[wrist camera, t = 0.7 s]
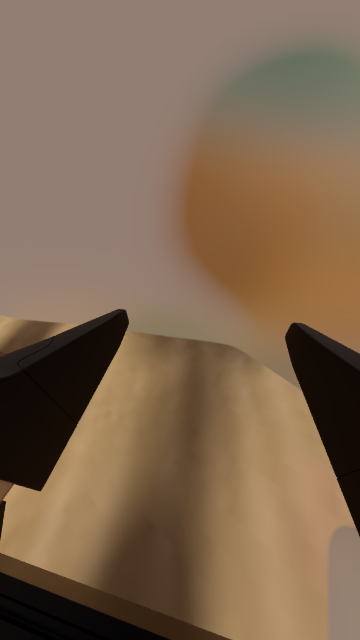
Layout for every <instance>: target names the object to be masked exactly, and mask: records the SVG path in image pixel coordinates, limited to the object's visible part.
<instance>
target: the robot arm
mask: <svg viewBox="0 0 360 640" xmlns="http://www.w3.org/2000/svg"><path fill="white" fill-rule="evenodd" d="M128 325H129V320H128V316H127V313H126V310H124V309H117V310H115V311H112V312H110V313H108V314H105V315H103V316H100V317H98V318H96V319H93V320H91V321H89V322H86V323H84V324H81V325H79V326H77V327H74V328H72V329H69V330H67V331H65V332H62V333H60V334H57V335H56V336H53V337H50V338H48V339H45V340H43V341H40V342H38V343H35V344H33V345H30V346H28V347H25V348H22V349H20V350H17V351H15V352H12V353H9V354H6V355H4V356H1V357H0V539H1V532H2V525H3V518H4V511H5V504H6V501H3V499H4V498H5V496H6V495H7V493H8V492H9V491H10V489H11V488H12V486H13V485H14V484H16V485H19V486H23V487H26V488H30V489H33V490H37V491H41V490H42V488H43V487H44V485H45V483H46V482H47V480H48V478H49V476H50V474H51V472H52V471H53V469H54V467H55V465H56V463H57V461H58V459H59V458H60V456H61V454H62V452H63V450H64V448H65V447H66V445H67V443H68V441H69V439H70V437H71V436H72V434H73V432H74V430H75V428H76V426H77V424H78V422H79V421H80V419H81V417H82V415H83V413H84V411H85V409H86V408H87V406H88V404H89V402H90V400H91V398H92V397H93V395H94V393H95V391H96V389H97V387H98V385H99V384H100V382H101V380H102V378H103V376H104V374H105V373H106V371H107V369H108V367H109V365H110V363H111V361H112V360H113V358H114V356H115V354H116V352H117V350H118V349H119V347H120V344H121V342H122V340H123V337H124V335H125V332H126V330H127V327H128ZM285 340H286V344H287V348H288V352H289V356H290V359H291V363H292V366H293V369H294V372H295V374H296V377H297V379H298V381H299V384H300V387H301V389H302V392H303V394H304V397H305V399H306V402H307V404H308V407H309V409H310V412H311V415H312V417H313V420H314V422H315V425H316V427H317V430H318V432H319V435H320V437H321V440H322V442H323V445H324V447H325V450H326V452H327V455H328V457H329V460H330V463H331V465H332V468H333V470H334V473H335V475H336V477H337V481H338V483H339V486H340V488H341V491H342V493H343V496H344V498H345V501H346V503H347V506H348V508H349V511H350V513H351V516H352V518H353V521H354V524H355V526H356V529H357V531H358V533H359V536H360V354H359V353H357V352H355V351H354V350H351V349H350V348H348V347H346V346H344V345H342V344H340V343H338V342H337V341H335V340H333V339H331V338H329V337H327V336H325V335H323V334H322V333H320V332H318V331H316V330H314V329H312V328H310V327H308V326H306V325H305V324H302V323H292V324H291V326H290V328H289V329H288V331H287V333H286V336H285ZM0 640H231V639H228V638H226V637H223V636H220V635H218V634H215V633H212V632H210V631H207V630H204V629H202V628H199V627H196V626H194V625H191V624H188V623H186V622H183V621H180V620H178V619H175V618H172V617H170V616H167V615H164V614H162V613H159V612H156V611H154V610H151V609H148V608H146V607H143V606H140V605H138V604H135V603H132V602H130V601H127V600H124V599H122V598H119V597H116V596H114V595H111V594H108V593H106V592H103V591H100V590H98V589H95V588H92V587H90V586H87V585H84V584H82V583H79V582H76V581H74V580H71V579H68V578H66V577H63V576H60V575H58V574H55V573H52V572H50V571H47V570H44V569H42V568H39V567H36V566H34V565H31V564H28V563H26V562H23V561H20V560H18V559H15V558H12V557H10V556H7V555H4V554H2V553H0Z"/></svg>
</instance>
